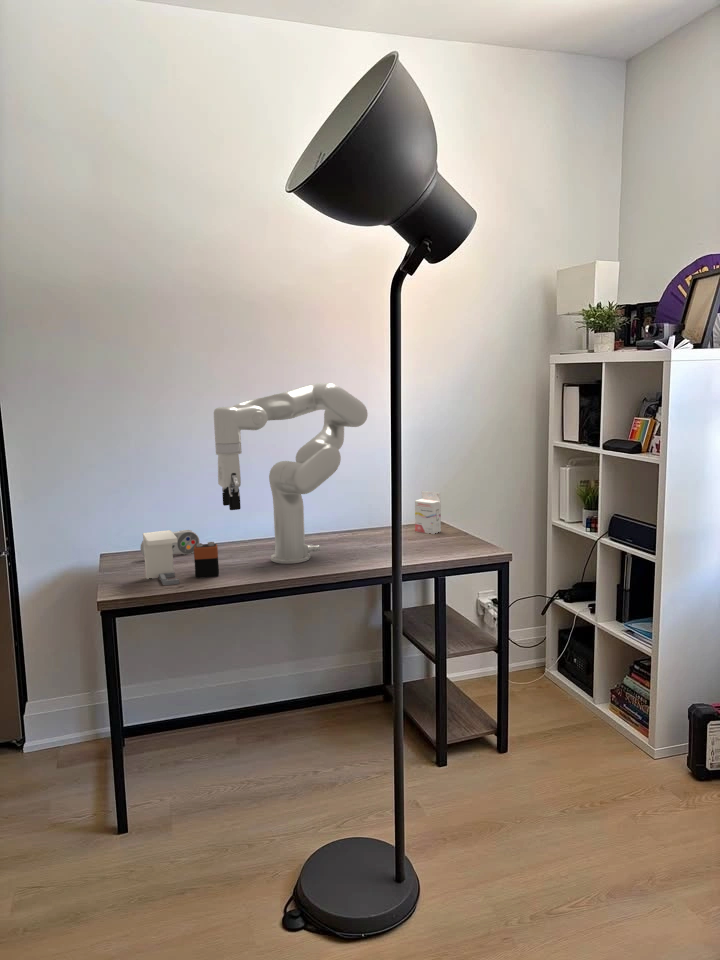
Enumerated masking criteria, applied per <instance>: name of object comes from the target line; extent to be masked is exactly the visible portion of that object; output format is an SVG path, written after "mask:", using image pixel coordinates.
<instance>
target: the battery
mask: <svg viewBox="0 0 720 960" xmlns="http://www.w3.org/2000/svg"><path fill="white" fill-rule="evenodd" d="M218 548H219V547H218V544H217V543H215V542H214V541H209V542H208V541H207V543H206V544H203V543H198V544H197V545H195V546H194V553H193V557H194V560H193V561H194V572H195V578H196V579H199V578H201V579H203V578H213V577H214V578H215V577H219V576H220V569H219V568H220V567H219V564H220V563H219V552H218V551H219V549H218Z"/></svg>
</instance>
